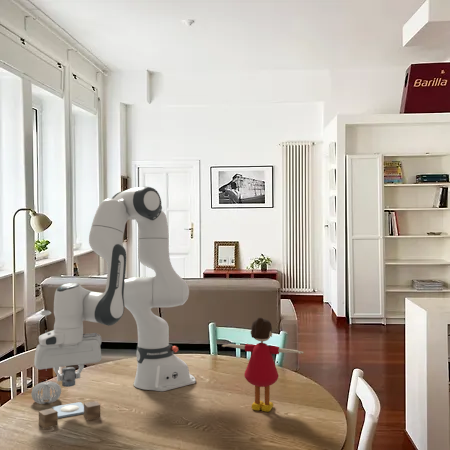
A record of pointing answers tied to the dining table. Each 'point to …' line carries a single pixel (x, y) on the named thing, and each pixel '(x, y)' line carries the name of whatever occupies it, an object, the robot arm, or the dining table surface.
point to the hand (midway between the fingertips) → (68, 379)
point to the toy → (261, 362)
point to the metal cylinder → (68, 376)
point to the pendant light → (46, 386)
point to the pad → (69, 409)
